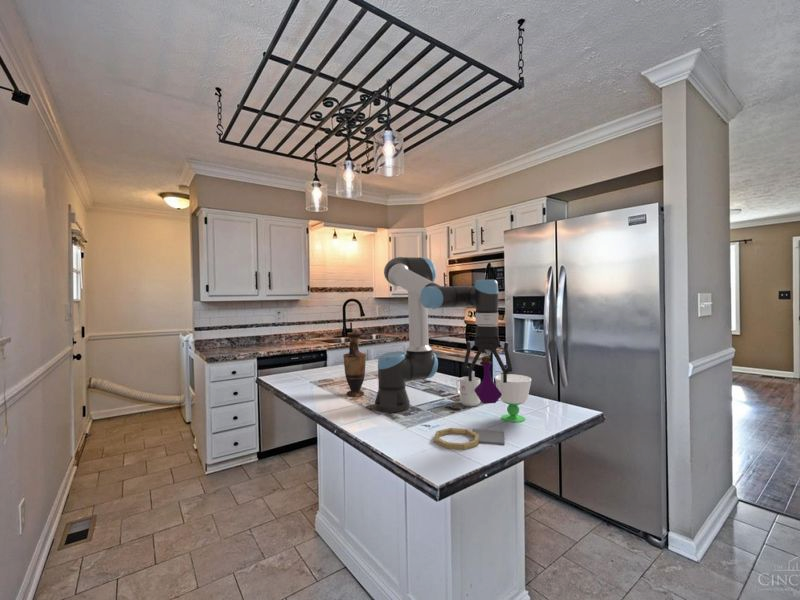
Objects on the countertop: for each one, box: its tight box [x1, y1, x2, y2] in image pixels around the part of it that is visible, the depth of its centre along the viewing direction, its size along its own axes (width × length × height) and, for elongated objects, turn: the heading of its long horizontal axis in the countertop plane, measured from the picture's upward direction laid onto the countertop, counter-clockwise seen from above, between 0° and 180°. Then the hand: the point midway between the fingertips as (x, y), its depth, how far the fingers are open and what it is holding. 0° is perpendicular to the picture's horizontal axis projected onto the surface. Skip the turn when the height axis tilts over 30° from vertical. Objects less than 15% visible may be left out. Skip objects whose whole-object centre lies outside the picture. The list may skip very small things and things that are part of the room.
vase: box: [343, 331, 367, 398], centre depth 190 cm, size 11×11×30 cm
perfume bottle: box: [474, 350, 502, 405], centre depth 134 cm, size 8×8×18 cm
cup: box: [494, 373, 532, 423], centre depth 153 cm, size 14×14×16 cm
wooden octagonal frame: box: [433, 427, 479, 451], centre depth 132 cm, size 14×14×2 cm
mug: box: [455, 376, 481, 407], centre depth 174 cm, size 12×9×11 cm
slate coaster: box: [469, 428, 506, 446], centre depth 134 cm, size 11×11×1 cm
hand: (487, 391), depth 134 cm, fingers closed on perfume bottle, 9 cm apart
